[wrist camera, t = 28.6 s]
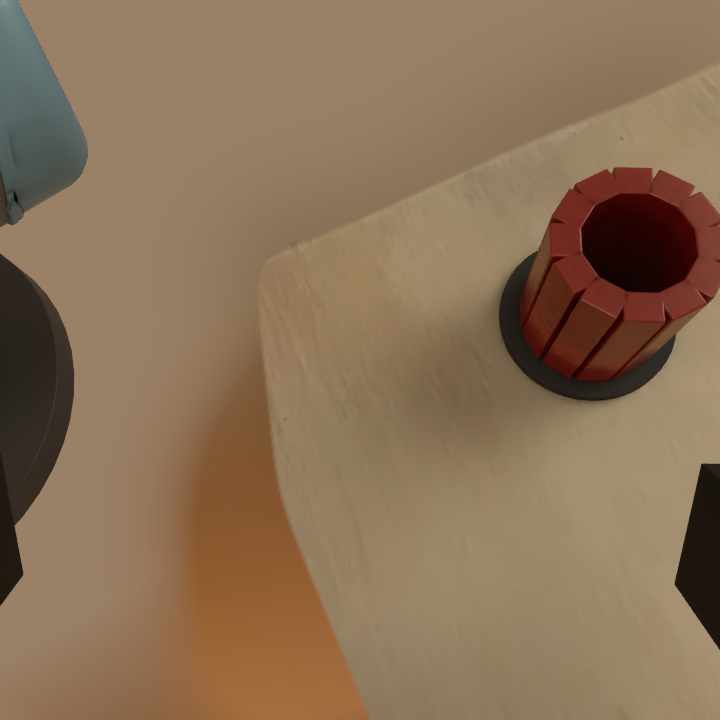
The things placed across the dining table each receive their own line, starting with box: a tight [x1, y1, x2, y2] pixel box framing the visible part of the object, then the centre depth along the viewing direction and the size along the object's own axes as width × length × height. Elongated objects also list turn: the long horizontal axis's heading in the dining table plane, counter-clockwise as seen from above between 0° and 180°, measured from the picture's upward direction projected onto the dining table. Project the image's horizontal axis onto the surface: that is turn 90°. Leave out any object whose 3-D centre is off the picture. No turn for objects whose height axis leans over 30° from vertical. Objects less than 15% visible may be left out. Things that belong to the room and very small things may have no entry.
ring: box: [520, 167, 720, 382], centre depth 30 cm, size 7×7×8 cm
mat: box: [499, 251, 676, 400], centre depth 34 cm, size 9×9×1 cm
